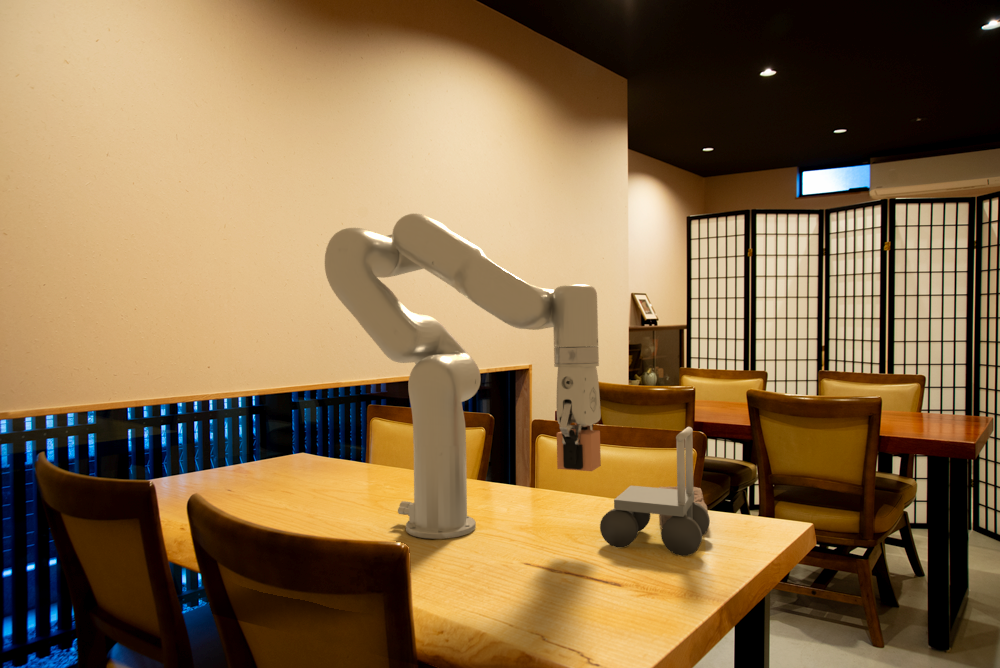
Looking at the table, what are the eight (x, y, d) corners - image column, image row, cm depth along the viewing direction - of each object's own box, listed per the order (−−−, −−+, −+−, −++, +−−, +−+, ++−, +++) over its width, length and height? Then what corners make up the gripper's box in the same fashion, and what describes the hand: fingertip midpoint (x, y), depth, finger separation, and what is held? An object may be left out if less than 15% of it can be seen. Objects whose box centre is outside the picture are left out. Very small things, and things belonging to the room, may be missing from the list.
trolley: (599, 545, 104) (598, 430, 104) (617, 527, 114) (615, 422, 114) (700, 559, 97) (698, 436, 97) (710, 538, 107) (708, 427, 107)
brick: (709, 534, 110) (709, 507, 110) (660, 531, 112) (659, 505, 112) (701, 510, 126) (700, 486, 126) (658, 508, 128) (657, 484, 128)
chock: (557, 468, 106) (556, 433, 106) (567, 463, 110) (566, 429, 110) (591, 471, 103) (591, 434, 103) (600, 465, 107) (599, 430, 108)
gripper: (581, 359, 98) (584, 477, 97) (611, 356, 113) (614, 458, 113) (536, 359, 101) (539, 473, 101) (571, 356, 116) (574, 455, 116)
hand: (578, 464), depth 107 cm, fingers closed on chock, 5 cm apart
